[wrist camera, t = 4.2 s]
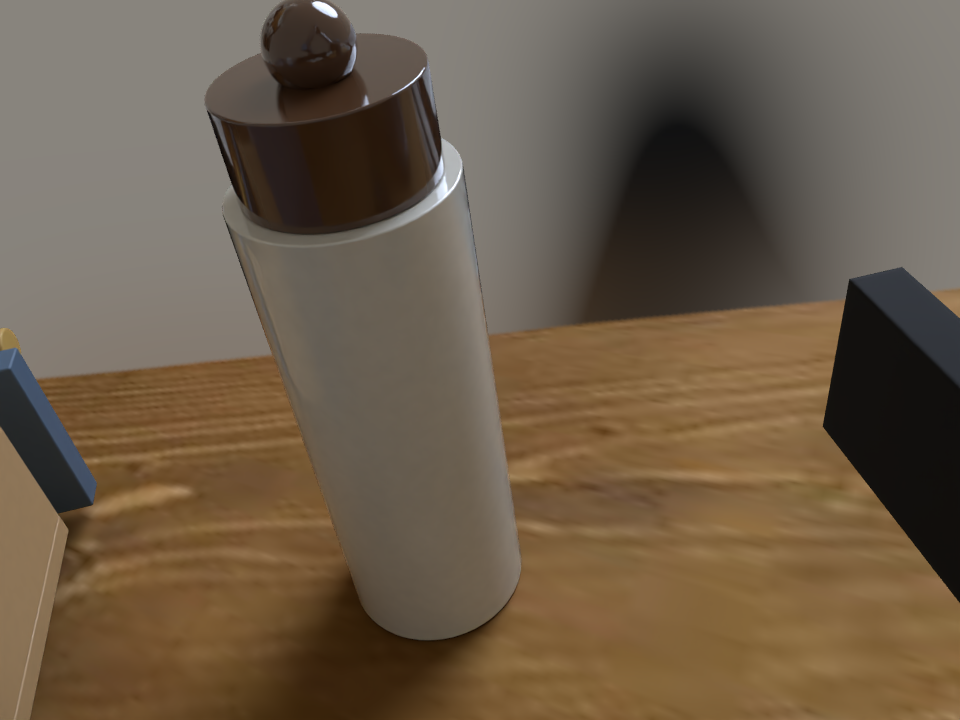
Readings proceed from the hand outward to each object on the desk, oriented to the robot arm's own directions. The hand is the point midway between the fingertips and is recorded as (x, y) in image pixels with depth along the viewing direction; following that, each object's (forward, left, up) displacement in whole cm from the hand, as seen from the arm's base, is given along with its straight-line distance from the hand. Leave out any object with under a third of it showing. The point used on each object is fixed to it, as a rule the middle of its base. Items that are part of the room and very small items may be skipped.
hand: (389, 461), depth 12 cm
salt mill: (0, -10, -15) cm, 18 cm away
